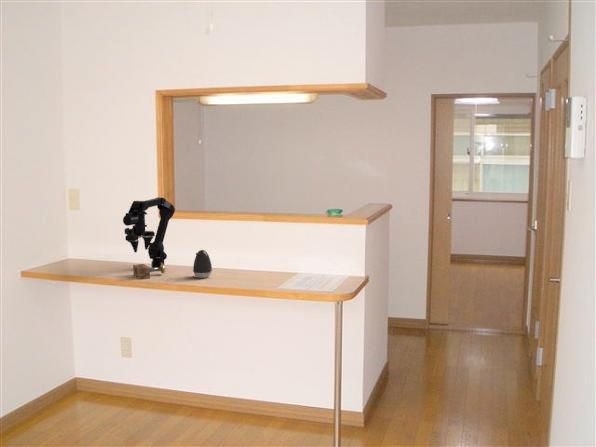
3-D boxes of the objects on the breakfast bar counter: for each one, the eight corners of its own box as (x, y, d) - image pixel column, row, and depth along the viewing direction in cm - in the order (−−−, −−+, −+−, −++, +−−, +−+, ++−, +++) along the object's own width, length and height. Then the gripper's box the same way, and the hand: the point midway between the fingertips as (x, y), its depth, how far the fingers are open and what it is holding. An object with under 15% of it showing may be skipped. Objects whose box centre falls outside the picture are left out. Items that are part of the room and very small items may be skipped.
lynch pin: (162, 272, 343) (161, 262, 343) (164, 274, 339) (164, 263, 338) (144, 274, 339) (143, 264, 338) (146, 275, 334) (146, 265, 333)
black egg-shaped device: (189, 278, 332) (188, 250, 330) (200, 274, 341) (200, 247, 339) (204, 280, 327) (203, 252, 325) (215, 276, 336) (215, 249, 334)
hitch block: (144, 274, 342) (144, 263, 341) (149, 278, 332) (149, 267, 331) (133, 275, 339) (133, 264, 339) (138, 279, 329) (138, 268, 328)
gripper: (138, 220, 352) (140, 247, 354) (116, 224, 335) (118, 252, 337) (154, 221, 347) (155, 248, 349) (133, 225, 330) (134, 254, 332)
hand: (140, 251), depth 342 cm, fingers open, 9 cm apart
